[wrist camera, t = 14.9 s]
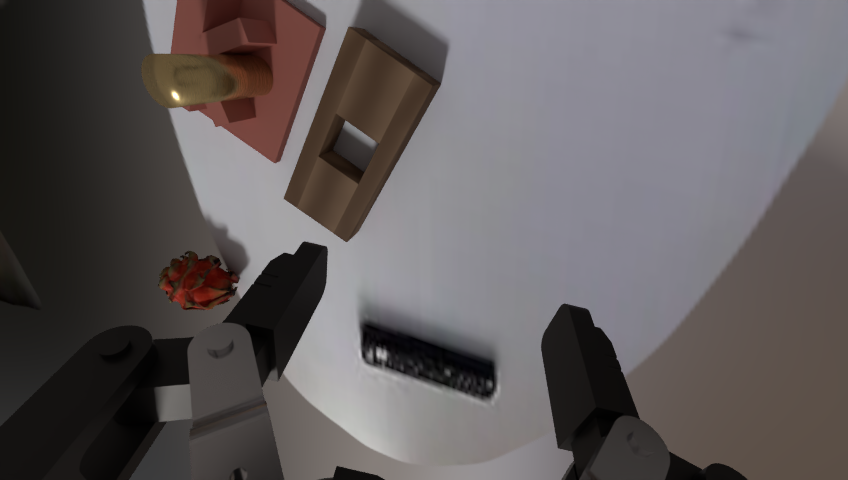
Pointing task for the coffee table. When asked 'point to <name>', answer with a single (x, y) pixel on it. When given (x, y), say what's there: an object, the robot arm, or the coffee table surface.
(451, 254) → the coffee table surface
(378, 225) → the coffee table surface
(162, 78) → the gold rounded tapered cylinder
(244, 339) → the robot arm
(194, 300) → the dragon fruit
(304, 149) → the brown flat block
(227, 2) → the V-block
